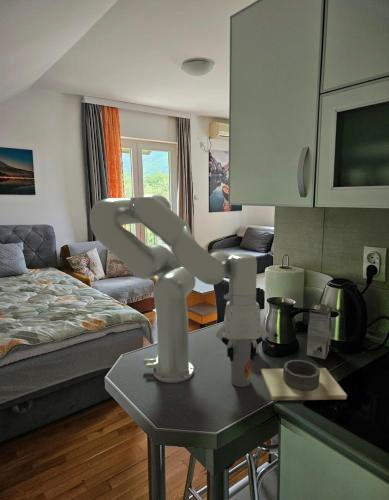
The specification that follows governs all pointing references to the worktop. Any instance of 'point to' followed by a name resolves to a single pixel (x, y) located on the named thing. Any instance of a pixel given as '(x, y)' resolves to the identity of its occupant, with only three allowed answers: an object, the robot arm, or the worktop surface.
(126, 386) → the worktop surface
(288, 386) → the bottle holder
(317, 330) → the coffee box
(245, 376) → the lotion bottle
